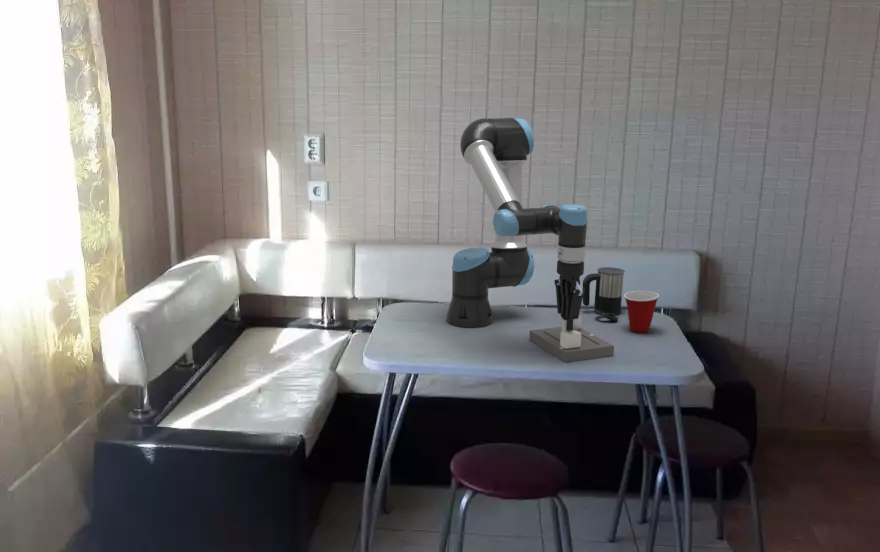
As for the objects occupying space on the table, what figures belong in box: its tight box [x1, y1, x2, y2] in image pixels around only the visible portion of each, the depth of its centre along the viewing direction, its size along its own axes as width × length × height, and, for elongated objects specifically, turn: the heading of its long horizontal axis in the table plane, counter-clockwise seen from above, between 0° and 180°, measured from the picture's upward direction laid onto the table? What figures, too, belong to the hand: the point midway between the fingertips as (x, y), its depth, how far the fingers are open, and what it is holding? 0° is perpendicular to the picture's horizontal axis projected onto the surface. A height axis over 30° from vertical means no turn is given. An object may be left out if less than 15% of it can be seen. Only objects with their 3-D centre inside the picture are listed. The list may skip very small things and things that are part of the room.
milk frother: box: [582, 266, 626, 322], centre depth 273 cm, size 14×16×15 cm
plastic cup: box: [623, 290, 660, 334], centre depth 258 cm, size 11×11×12 cm
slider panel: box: [528, 326, 615, 363], centre depth 243 cm, size 21×16×3 cm
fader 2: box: [573, 314, 583, 330], centre depth 250 cm, size 3×5×4 cm, turn 113°
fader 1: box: [560, 330, 581, 349], centre depth 234 cm, size 3×5×4 cm, turn 113°
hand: (566, 340), depth 236 cm, fingers closed
